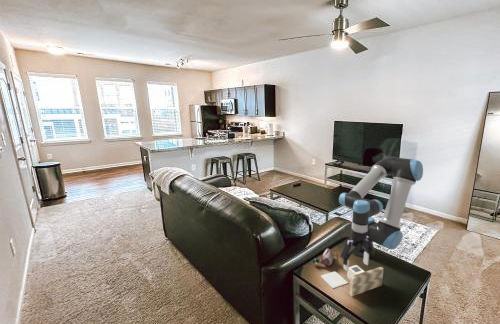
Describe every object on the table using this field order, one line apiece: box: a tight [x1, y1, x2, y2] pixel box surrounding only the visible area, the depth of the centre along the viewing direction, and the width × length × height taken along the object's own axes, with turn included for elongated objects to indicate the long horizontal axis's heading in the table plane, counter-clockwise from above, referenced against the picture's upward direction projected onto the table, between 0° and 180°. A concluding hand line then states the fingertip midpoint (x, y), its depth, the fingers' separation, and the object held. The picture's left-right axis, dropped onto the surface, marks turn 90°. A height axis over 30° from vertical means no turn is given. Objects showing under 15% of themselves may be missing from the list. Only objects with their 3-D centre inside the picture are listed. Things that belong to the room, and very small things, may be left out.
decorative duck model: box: [311, 248, 339, 267], centre depth 141 cm, size 15×8×15 cm
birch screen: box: [349, 266, 385, 297], centre depth 118 cm, size 20×2×10 cm, turn 111°
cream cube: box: [346, 264, 366, 280], centre depth 126 cm, size 6×6×6 cm
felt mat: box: [320, 271, 349, 289], centre depth 127 cm, size 10×10×1 cm
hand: (355, 266), depth 125 cm, fingers open, 13 cm apart
